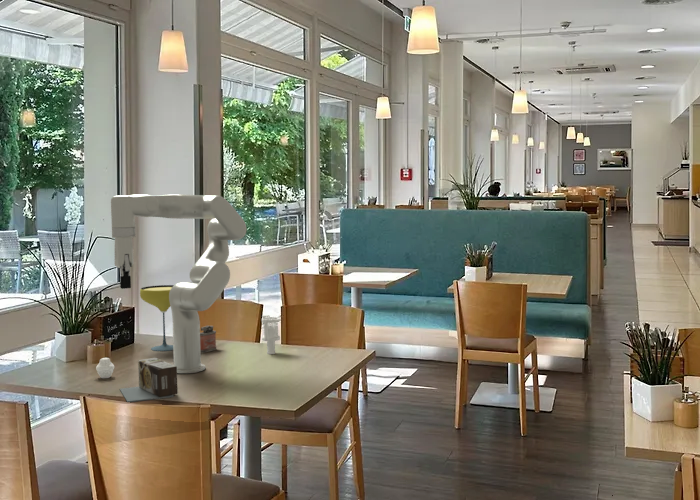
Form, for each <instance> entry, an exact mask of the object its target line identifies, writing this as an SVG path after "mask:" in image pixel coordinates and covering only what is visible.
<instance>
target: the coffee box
mask: <svg viewBox="0 0 700 500" xmlns="http://www.w3.org/2000/svg"><path fill="white" fill-rule="evenodd" d="M137 365H138V387H140V388H142V389H144V390H146V391H148V392H150V393H152V394H154V395H156V396H158V397H163V396H169V395H173V396H174V395H177V394H178V393H179V392H178V373H177V366H174V364H171V363H169V362H166V361H164V360H162V359H160V358H157V357H151V358H144V359H140V360H138V361H137Z"/></svg>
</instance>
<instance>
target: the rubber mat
mask: <svg viewBox="0 0 700 500" xmlns="http://www.w3.org/2000/svg"><path fill="white" fill-rule="evenodd" d="M119 391H120V393H121V394H122V397H123V398H124V399H125V401H126V403H135V402H143V401H149V400H151V401H152V400H158V399H159V400H160V399H167V398H174V395H169V396H163V397H158V396H156V395H154V394H152V393H150V392H148V391H146V390H144V389H142V388H140V387H139V386H132V387H131V386H130V387H124V388H122V387H121V388H119Z"/></svg>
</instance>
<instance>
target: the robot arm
mask: <svg viewBox="0 0 700 500" xmlns="http://www.w3.org/2000/svg"><path fill="white" fill-rule="evenodd" d="M110 210H111V211H110V216H111V217H110V218H111V238H113V239H114V266H115V267H116V268H118V269H119V275H120V276H119V286H120V287H119V288H120V289H121V290H123V289H131V287H132V282H131V281H132V276H131V268H133V266H134V246H133V245H134V244H133V242H134V241H133V238H136V234H137V233H136V232H137V231H136V217H137V218H163V219H164V218H165V219H173V220H174V219H176V220H177V219H181V220H182V219H188V220H193V219H194V220H195V219H197V220H205V219H207V220H209V219H210V220H209V222H208V224H207V227H206V228H207V237H208V245H207V248H206V249H205V251H204V252H203V254H202V255H201V256H199V258H198V260H197V261H196V262H195V263H194V264H193V266H191V267H192V268H191V269H190V271H189V279H190V281H191V282H190V281H181V282H177V283H175V284H174V286H173V287H172V288H171V290H170V293H169V301H170V308H171V317H172V318H171V319H172V343H173V344H172V345H173V350H172V354H173V365H174V366H177V374H193V373H200V372H202V371H204V370H205V369H206V365H205V364H204V363H202V361H201V359H202V356H201V353H202V352H200V333H201V320H200V315H199V312H204V311H207V310H208V309H210V308H211V307H212V305H213V304H214V303H215V302H216V301H217V299H218V298H219V296H220V295H221V294H222V293H223V291H224V290H225V288H226V287H227V285H228V284H229V281H230V279H231V270H230V267H229V266H228V265H227V264H226V263H227V260H228V259H229V257H230V256H229V255H230V249H229V241H240V240H241V239H244V237H245V236H246V234H247V225H246V222H245V221H244V219H243V217H242V216H241V215H240V214H239V212H238V211H237V210H236V209H235V207H233V205H232V204H231V203H230V202H229V201H228V200H227V199H226V198H225V197H223V196H221V195H211V194H210V195H207V194H206V195H203V194H200V195H199V194H175V193H174V194H163V195H151V194H130V195H113V196H112V197H111V199H110Z"/></svg>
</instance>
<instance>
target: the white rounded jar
mask: <svg viewBox="0 0 700 500" xmlns="http://www.w3.org/2000/svg"><path fill="white" fill-rule="evenodd" d="M95 369H96V372H97V374H98V375H99V377H100V378H101V379H109V378H111V376H112V374H113V373H114V369H115V365H114V363H112V361H111V358H109V357H102V358H100V359H99V363H98V364H97V365H96V367H95Z"/></svg>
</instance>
